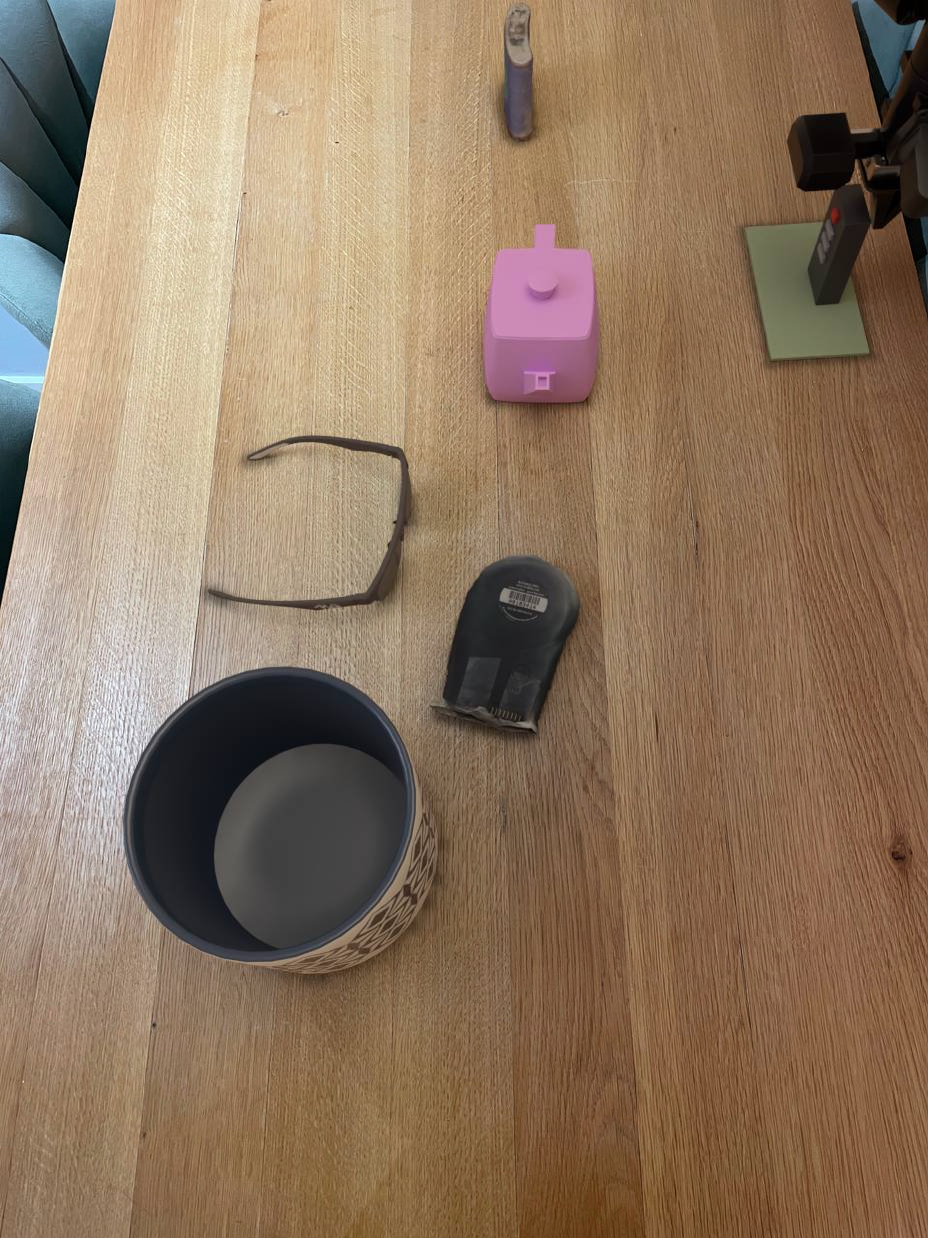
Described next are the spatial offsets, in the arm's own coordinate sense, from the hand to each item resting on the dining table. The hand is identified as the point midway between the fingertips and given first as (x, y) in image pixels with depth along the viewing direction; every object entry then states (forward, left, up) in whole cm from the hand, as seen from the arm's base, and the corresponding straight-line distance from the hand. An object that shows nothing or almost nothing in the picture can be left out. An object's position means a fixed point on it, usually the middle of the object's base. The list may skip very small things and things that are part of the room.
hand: (876, 225), depth 83 cm
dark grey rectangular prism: (+2, -1, -7) cm, 8 cm away
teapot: (+27, -13, -8) cm, 31 cm away
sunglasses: (+54, -12, -8) cm, 56 cm away
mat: (+3, -2, -8) cm, 9 cm away
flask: (+7, -39, -8) cm, 41 cm away
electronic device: (+48, +7, -8) cm, 49 cm away
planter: (+70, +10, -8) cm, 71 cm away
